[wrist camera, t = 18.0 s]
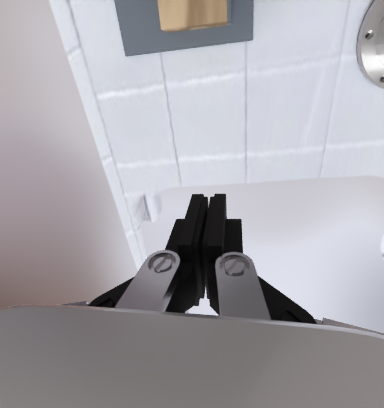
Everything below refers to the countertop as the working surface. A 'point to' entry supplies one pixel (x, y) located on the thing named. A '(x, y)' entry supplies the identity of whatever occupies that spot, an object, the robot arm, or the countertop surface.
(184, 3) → the oak slab
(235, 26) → the mat
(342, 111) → the countertop surface
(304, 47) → the countertop surface
